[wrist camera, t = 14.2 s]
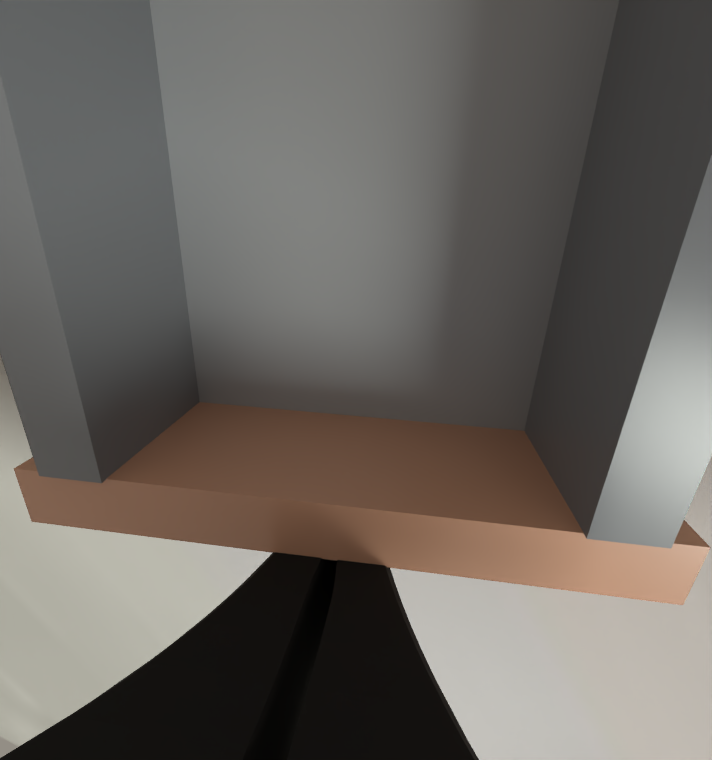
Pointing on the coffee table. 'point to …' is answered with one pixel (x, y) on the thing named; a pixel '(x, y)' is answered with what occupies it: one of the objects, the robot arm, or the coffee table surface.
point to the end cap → (364, 500)
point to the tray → (367, 228)
